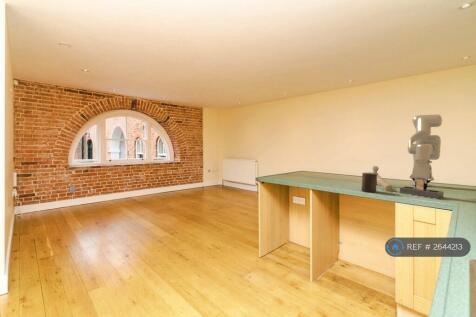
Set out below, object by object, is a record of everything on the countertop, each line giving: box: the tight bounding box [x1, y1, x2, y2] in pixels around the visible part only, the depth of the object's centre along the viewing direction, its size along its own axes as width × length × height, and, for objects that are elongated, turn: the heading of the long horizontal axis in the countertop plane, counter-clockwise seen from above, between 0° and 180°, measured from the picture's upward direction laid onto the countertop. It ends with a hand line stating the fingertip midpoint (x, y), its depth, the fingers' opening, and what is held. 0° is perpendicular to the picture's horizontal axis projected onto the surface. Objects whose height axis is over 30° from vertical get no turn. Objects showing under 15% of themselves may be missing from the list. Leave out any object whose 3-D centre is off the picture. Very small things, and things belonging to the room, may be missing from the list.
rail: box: [399, 185, 445, 200], centre depth 160 cm, size 9×22×4 cm, turn 32°
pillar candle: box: [361, 171, 378, 194], centre depth 172 cm, size 10×10×15 cm
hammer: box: [371, 165, 393, 192], centre depth 187 cm, size 16×5×30 cm
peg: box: [416, 178, 427, 190], centre depth 160 cm, size 4×4×10 cm
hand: (420, 188), depth 160 cm, fingers closed on peg, 4 cm apart
